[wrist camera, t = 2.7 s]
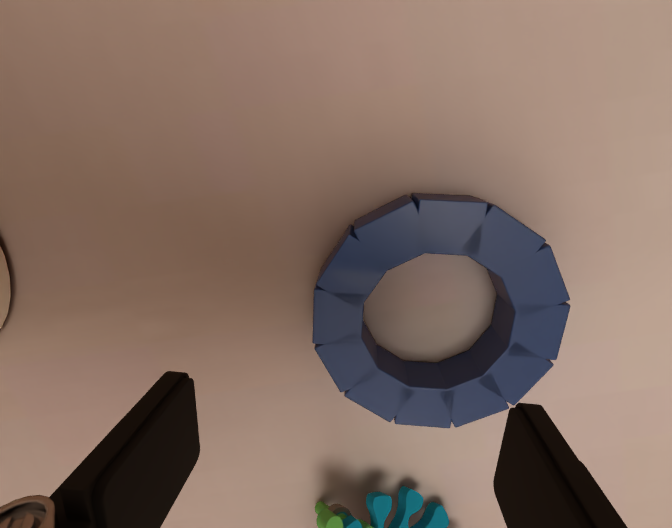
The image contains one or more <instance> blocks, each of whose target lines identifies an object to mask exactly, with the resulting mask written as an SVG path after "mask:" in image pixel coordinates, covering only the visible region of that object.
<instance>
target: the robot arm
mask: <svg viewBox="0 0 672 528" xmlns="http://www.w3.org/2000/svg"><path fill="white" fill-rule="evenodd" d="M10 297H11V291H10V275H9V271H8V267H7V263H6V259H5V255H4V253H3V251H2V248H1V246H0V329H1V328H2V326H3V323H4V321H5V319H6V316H7V314H8V309H9V303H10ZM199 453H200V443H199V433H198V422H197V411H196V400H195V389H194V381H193V379H192V378H189V376H188V374H187V373H183V372H172V371H168V372H166V373H164V374H163V376H162V377H161V378H160V379H159V380H158V381H157V382H156V383H155V384H154V385H153V386H152V387H151V389H150V390H149V391H148V392H147V393H146V394H145V395H144V396H143V397H142V398H141V399H140V400H139V401H138V403H137V404H136V405H135V406H134V407H133V408H132V409H131V410H130V411H129V412H128V413H127V414H126V416H125V417H124V418H123V419H122V420H121V421H120V422H119V423H118V424H117V425H116V426H115V427H114V428H113V429H112V430H111V431H110V432H109V433H108V435H107V436H106V437H105V438H104V439H103V440H102V441H101V442H100V443H99V444H98V445H97V446H96V448H95V449H94V450H93V451H92V452H91V453H90V454H89V455H88V456H87V457H86V458H85V459H84V460H83V462H82V463H81V464H80V465H79V466H78V467H77V468H76V469H75V470H74V471H73V472H72V473H71V475H70V476H69V477H68V478H67V479H66V480H65V481H64V482H63V483H62V484H61V485H60V486H59V487H58V489H57V490H56V491H55V492H54V493H53V494H52V495H51V496H50V497H46V496H42V495H34V496H27V497H23V498H20V499H16V500H14V501H12V502H10V503H8V504H6V505H3V506H2V507H0V528H160V527H161V525H162V523H163V522H164V520H165V518H166V516H167V514H168V513H169V511H170V509H171V507H172V505H173V504H174V502H175V500H176V498H177V497H178V495H179V493H180V491H181V489H182V488H183V486H184V484H185V482H186V480H187V479H188V477H189V475H190V473H191V471H192V470H193V468H194V466H195V464H196V462H197V460H198V457H199ZM494 492H495V495H496V498H497V501H498V504H499V506H500V509H501V512H502V514H503V517H504V520H505V523H506V525H507V528H627V526H626V525H625V523H624V522H623V521H622V519H621V518H620V516H619V515H618V513H617V512H616V510H615V509H614V507H613V506H612V504H611V503H610V502H609V500H608V499H607V497H606V496H605V494H604V493H603V491H602V490H601V488H600V487H599V486H598V484H597V483H596V481H595V480H594V478H593V477H592V475H591V474H590V472H589V471H588V470H587V468H586V467H585V466H584V464H583V463H582V462H581V461H579V460H578V458H577V457H576V455H575V454H574V452H573V451H572V450H571V448H570V447H569V445H568V444H567V442H566V441H565V439H564V438H563V436H562V435H561V433H560V432H559V430H558V429H557V427H556V426H555V425H554V423H553V422H552V420H551V419H550V417H549V416H548V414H547V413H546V411H545V410H544V408H543V407H542V406H541V405H537V404H526V403H518V404H517V405H516V407H515V408H510V410H509V414H508V418H507V423H506V427H505V431H504V436H503V440H502V445H501V449H500V454H499V458H498V463H497V467H496V472H495V476H494Z"/></svg>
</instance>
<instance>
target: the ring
mask: <svg viewBox="0 0 672 528" xmlns="http://www.w3.org/2000/svg"><path fill="white" fill-rule="evenodd" d="M545 241H546V240H545V239H544V238H543V237H541V236H540V235H538V234H537V233H535V232H534V231H532V230H531V229H529V228H528V227H526V226H525V225H524V224H522V223H521V222H519V221H518V220H516V219H515V218H513V217H512V216H510V215H509V214H507V213H506V212H505V211H503V210H502V209H500V208H499V207H497V206H496V205H494V204H491V203H489V202H486V201H484V200H481V199H479V198H475V197H473V196H465V195H444V194H423V193H412V197H411V198H410V197H408V196H407V195H404V196H402V197H400V198H398V199H396V200H394V201H392V202H390V203H388V204H386V205H384V206H382V207H380V208H378V209H376V210H374V211H372V212H370V213H368V214H366V215H364V216H362V217H360V218H358V219H356V220H355V222H354V226H353V225H351V224H350V225H349V227H348V228H347V230H346V231H345V233H344V234H343V236H342V237H341V239H340V240H339V242H338V243H337V245H336V246H335V248H334V249H333V251H332V252H331V254H330V255H329V257H328V259H327V260H326V262H325V263H324V265H323V266H322V268H321V270H320V273H319V276H318V279H317V282H316V286H315V289H314V309H313V343H314V344H315V350H316V352H317V354H318V355H319V357H320V359H321V360H322V362H323V364H324V365H325V367H326V369H327V370H328V372H329V374H330V375H331V377H332V379H333V380H334V382H335V384H336V385H337V387H338V389H339V390H340V392H344V391H345V397H347V398H349V399H350V400H352V401H354V402H356V403H357V404H359V405H361V406H363V407H364V408H366V409H368V410H369V411H371V412H373V413H375V414H376V415H378V416H380V417H382V418H383V419H385V420H387V421H389V422H391V421H392V420H393V418H394V420H395V424H402V425H415V426H428V427H440V428H450V426H451V420H452V422H453V424H454V426H455V427H459V426H462V425H464V424H467V423H470V422H473V421H476V420H478V419H481V418H484V417H487V416H489V415H492V414H495V413H498V412H501V411H503V410H506V409H509V407H508V404H507V402H509V403H510V404H512V405H515V404H516V403H517V402H518V401H519V400H520V399H521V398H522V397H523V396H524V395H525V394H526V393H527V392H528V391H529V390H530V389H531V388H532V387H533V386H534V385H535V384H536V383H537V382H538V381H539V380H540V379H541V378H542V377H543V376H544V375H545V374H546V373H547V372H548V370H549V369H550V368H551V367H552V366H553V365H554V364H553V363H552V362H551V361H550V360H556V359H557V356H558V352H559V348H560V344H561V340H562V336H563V333H564V329H565V325H566V321H567V317H568V313H569V309H570V305H569V304H568V303H566V301H568V300H570V298H569V295H568V292H567V290H566V287H565V284H564V282H563V279H562V276H561V274H560V271H559V268H558V265H557V263H556V260H555V257H554V255H553V252H552V249H551V247H550V245H548V244H546V243H545ZM424 253H430V254H448V255H466V256H469V257H470V258H472V259H473V260H475V261H476V262H478V263H479V264H481V265H482V266H484V267H485V268H487V271H488V273H489V275H490V278H491V280H492V282H493V285H494V287H495V289H496V292H497V297H496V303H495V308H494V313H493V318H492V324H491V326H490V327H489V328H488V329H487V330H486V331H485V332H484V334H483V335H482V336H481V337H480V338H479V339H478V340H477V342H476V343H475V344H474V345H473V346H472V347H471V348H470V350H469V351H466V352H464V353H461V354H459V355H456V356H454V357H451V358H449V359H446V360H444V361H441V362H439V363H427V362H413V361H403V360H401V359H400V358H398V357H396V356H395V355H393V354H391V353H390V352H388V351H386V350H385V349H383V348H381V347H380V346H378V345H376V343H375V341H374V339H373V337H372V336H371V334H370V332H369V330H368V328H367V326H366V325H365V323H364V321H363V311H364V302H365V300H366V299H367V298H368V296H369V295H370V293H371V292H372V291H373V289H374V288H375V287H376V285H377V284H378V282H379V281H380V280H381V278H382V277H383V275H384V274H385V273H386V271H387V270H390V269H392V268H394V267H396V266H398V265H400V264H402V263H405V262H407V261H409V260H411V259H413V258H415V257H418V256H420V255H422V254H424ZM506 401H507V402H506Z"/></svg>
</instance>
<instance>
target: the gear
mask: <svg viewBox="0 0 672 528" xmlns="http://www.w3.org/2000/svg"><path fill="white" fill-rule="evenodd" d="M366 505H367V508H368V510H369V513H370V519H371V525H369V524H368V523H366V522H365V521H363V520H361V519H356V518H354V517H353V516H352V515H351V513H350V511H349V510H348V509H347V508H345V507H344V506H342V505H340V504H333V505H331V506H330V507H329V506H328V505H326V504H325V503H324V502H322V501H319V502H318V503H317V504H316V506H315V512H316V513H317V514H318V516H317V526H318V527H319V528H384V522H385V519H386V517H387V516H388V514H389V512H390V510H391V508H392V499H391V496H388V495H386V494H384V493H382V492H372V493H369V494H368V495H367V498H366ZM422 505H423V497H422V496H421V495H420V494H419V493H418V492H416V491H414V490H412V489H410V488H407V487H405V486H402V487H401V489H400V491H399V494H398V507H397V511H396V514H395V517H394V518H393V520H392V522H391V524H390V525H389V527H388V528H409V527H408V521H409V518H410V516H411V515H412V514H414V513H416V512H417V511H419V510H420V509H421V507H422ZM448 525H449V519H448V516H447V513H446V511H445V510H444V508H443V506H442V505H440V504H437V503H435V502H431V503H429V504H428V505H427V507H426V510H425V513H424V514H423V516H422V518H421V519H420V520H419V521H418V522H417V523H416V524H415V525H413V526H412V527H410V528H447V526H448Z"/></svg>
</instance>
